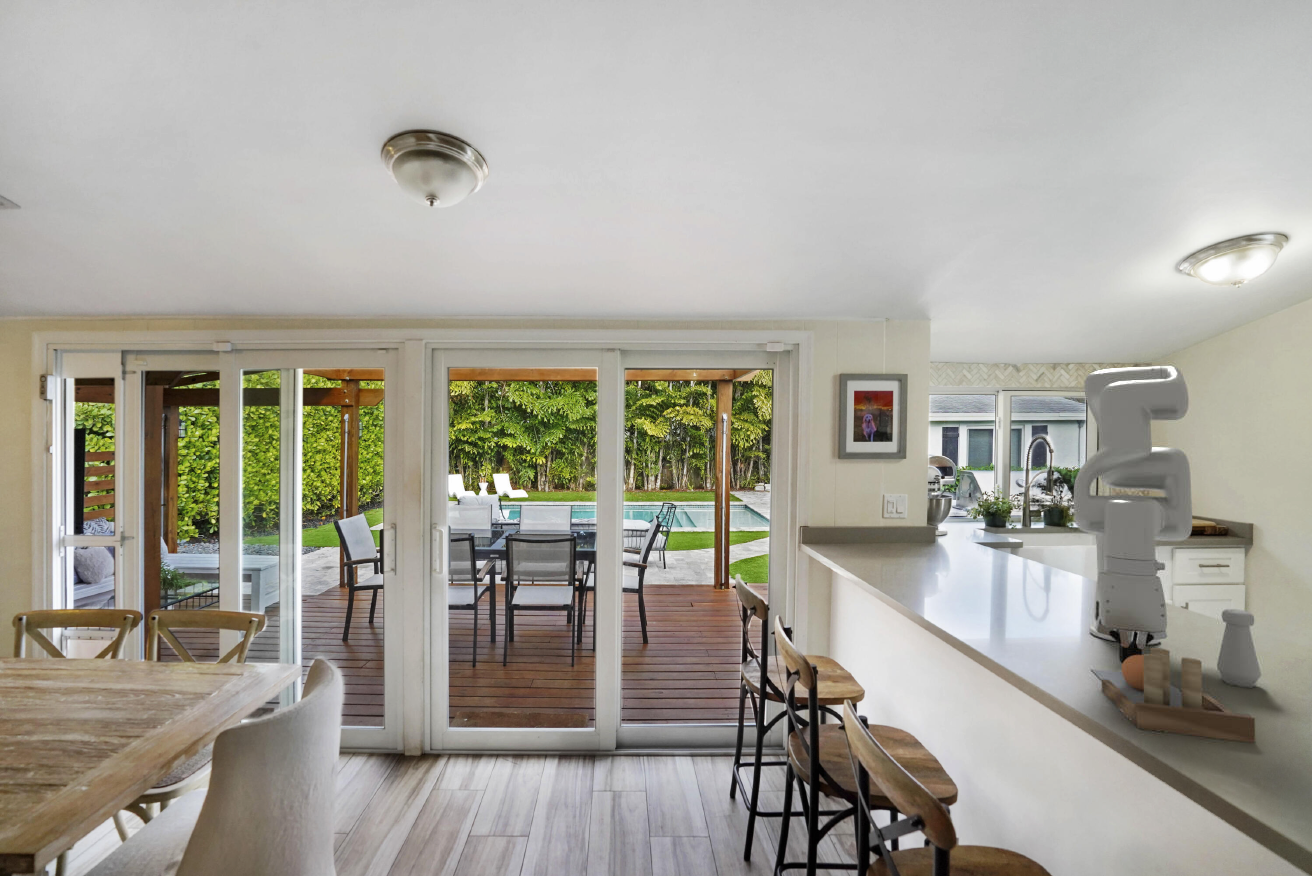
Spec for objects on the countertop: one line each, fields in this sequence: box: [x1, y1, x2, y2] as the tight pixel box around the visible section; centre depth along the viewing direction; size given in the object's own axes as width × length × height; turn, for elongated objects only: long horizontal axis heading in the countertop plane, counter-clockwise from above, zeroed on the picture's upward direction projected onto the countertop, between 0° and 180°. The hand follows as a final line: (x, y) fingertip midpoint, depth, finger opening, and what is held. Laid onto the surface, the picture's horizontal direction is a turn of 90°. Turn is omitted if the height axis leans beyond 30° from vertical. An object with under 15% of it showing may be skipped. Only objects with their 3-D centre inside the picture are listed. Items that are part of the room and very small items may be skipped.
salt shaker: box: [1216, 608, 1262, 688], centre depth 113 cm, size 6×6×13 cm
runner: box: [1090, 668, 1204, 710], centre depth 105 cm, size 26×11×1 cm, turn 161°
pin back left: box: [1180, 657, 1203, 710], centre depth 98 cm, size 2×2×9 cm
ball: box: [1121, 654, 1144, 691], centre depth 109 cm, size 6×6×6 cm
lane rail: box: [1101, 679, 1256, 744], centre depth 100 cm, size 16×14×4 cm
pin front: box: [1150, 647, 1171, 706], centre depth 103 cm, size 2×2×9 cm
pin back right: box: [1142, 653, 1163, 705], centre depth 100 cm, size 2×2×9 cm
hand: (1130, 668), depth 114 cm, fingers closed
